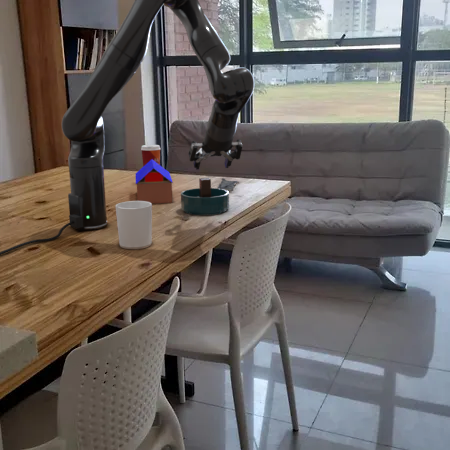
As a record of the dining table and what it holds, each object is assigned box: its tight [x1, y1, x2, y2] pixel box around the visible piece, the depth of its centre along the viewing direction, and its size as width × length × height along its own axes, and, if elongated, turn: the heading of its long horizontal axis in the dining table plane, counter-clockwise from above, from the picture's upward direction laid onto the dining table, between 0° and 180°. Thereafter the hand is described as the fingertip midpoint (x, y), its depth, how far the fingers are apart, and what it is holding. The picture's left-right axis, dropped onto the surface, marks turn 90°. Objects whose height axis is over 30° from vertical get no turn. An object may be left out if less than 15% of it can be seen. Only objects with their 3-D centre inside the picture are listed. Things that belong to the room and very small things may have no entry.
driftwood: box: [217, 177, 239, 191], centre depth 218 cm, size 21×7×2 cm, turn 173°
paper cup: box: [140, 144, 162, 167], centre depth 229 cm, size 8×8×14 cm
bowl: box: [180, 187, 230, 216], centre depth 184 cm, size 15×15×6 cm
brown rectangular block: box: [198, 177, 212, 197], centre depth 183 cm, size 3×3×9 cm
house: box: [135, 159, 174, 204], centre depth 202 cm, size 12×20×12 cm, turn 8°
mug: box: [115, 200, 153, 250], centre depth 149 cm, size 11×9×10 cm
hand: (211, 166), depth 168 cm, fingers open, 8 cm apart
